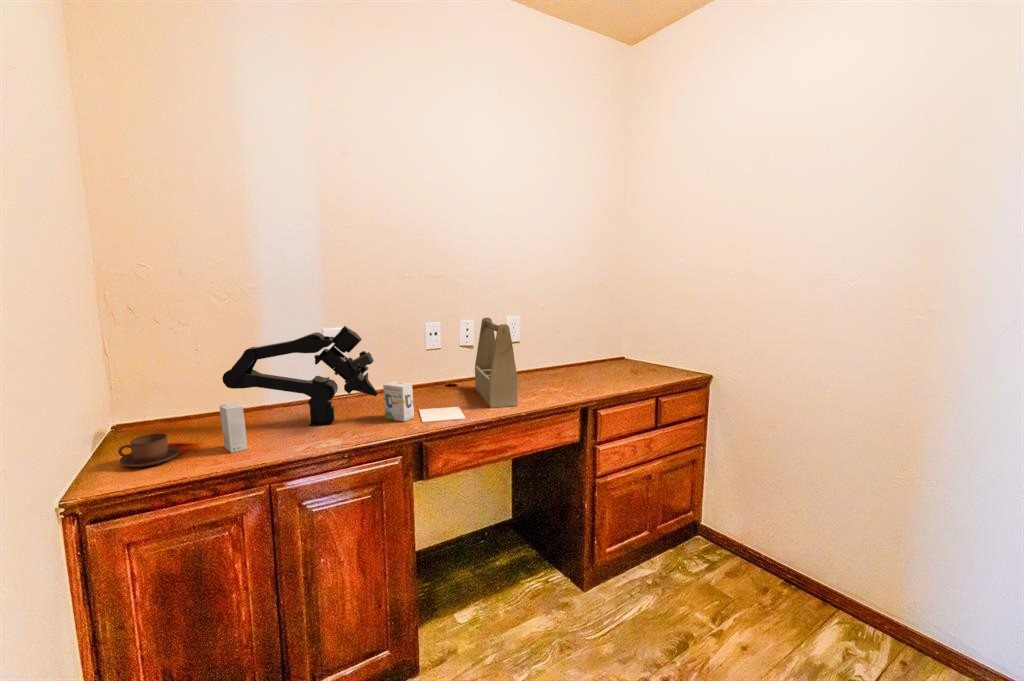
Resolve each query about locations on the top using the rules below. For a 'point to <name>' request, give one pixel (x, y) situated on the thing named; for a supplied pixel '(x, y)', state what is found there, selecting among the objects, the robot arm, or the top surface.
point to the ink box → (398, 401)
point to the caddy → (496, 366)
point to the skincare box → (233, 427)
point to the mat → (441, 414)
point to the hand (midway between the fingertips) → (376, 394)
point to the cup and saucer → (148, 451)
